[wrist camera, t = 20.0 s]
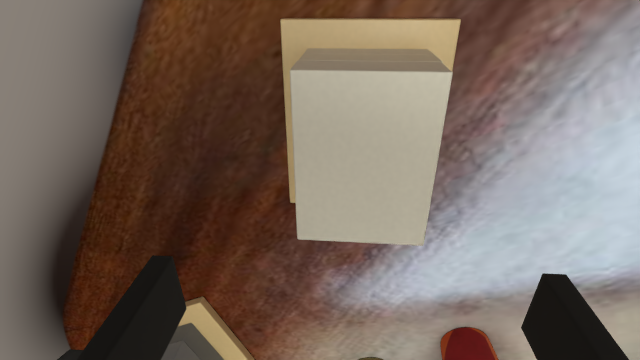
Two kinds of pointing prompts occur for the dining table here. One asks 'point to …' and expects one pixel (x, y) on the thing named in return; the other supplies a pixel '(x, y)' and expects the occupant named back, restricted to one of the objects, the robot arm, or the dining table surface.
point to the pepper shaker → (370, 359)
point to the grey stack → (204, 336)
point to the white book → (366, 148)
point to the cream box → (362, 48)
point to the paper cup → (467, 345)
